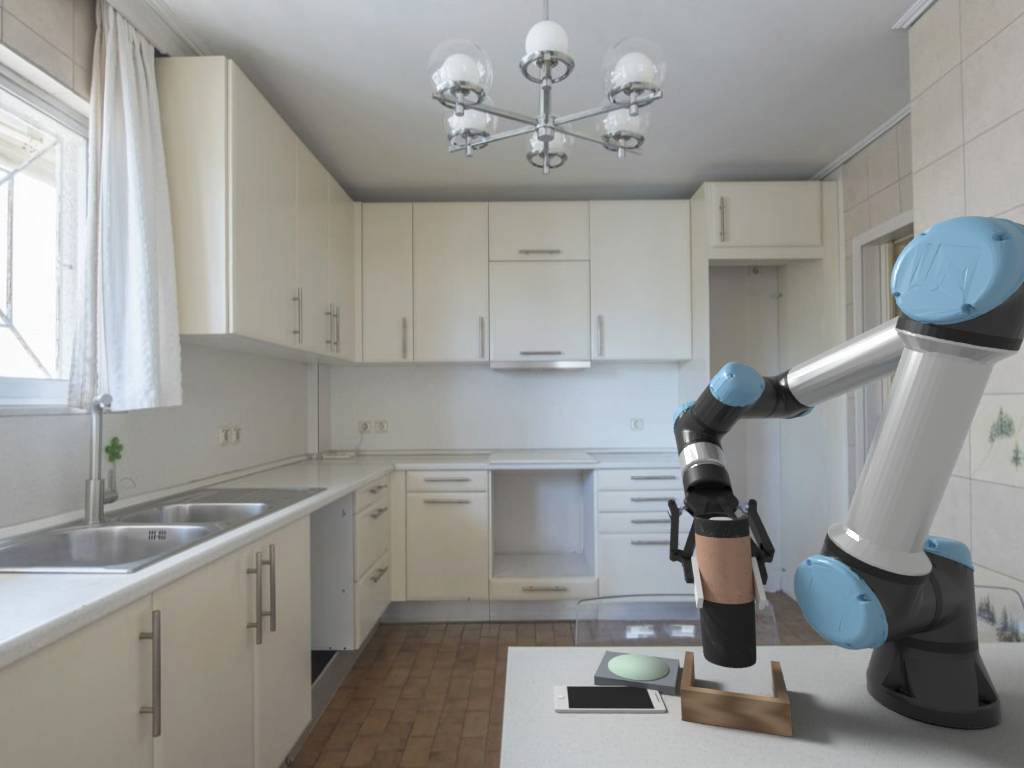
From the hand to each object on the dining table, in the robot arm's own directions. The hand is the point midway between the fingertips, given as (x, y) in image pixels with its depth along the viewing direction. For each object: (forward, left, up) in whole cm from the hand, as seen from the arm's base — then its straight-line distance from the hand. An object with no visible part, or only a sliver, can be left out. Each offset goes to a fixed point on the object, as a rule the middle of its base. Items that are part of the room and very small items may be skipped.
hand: (730, 603), depth 77 cm
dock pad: (+14, -8, -15) cm, 22 cm away
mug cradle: (0, -3, -15) cm, 15 cm away
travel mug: (+1, -3, -9) cm, 10 cm away
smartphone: (+17, +1, -15) cm, 23 cm away
